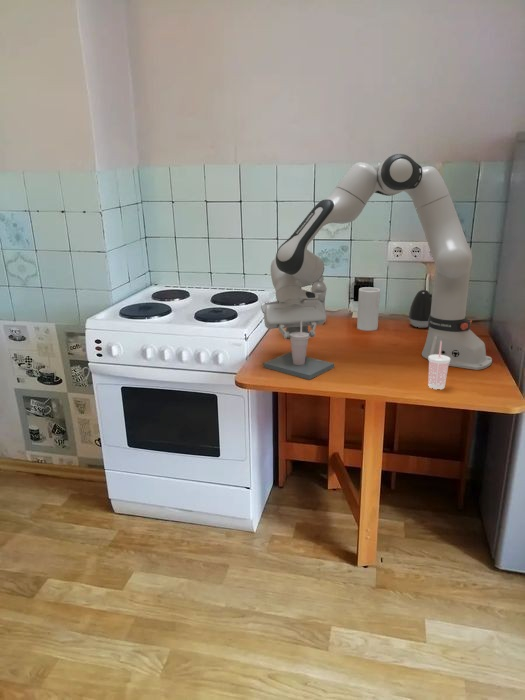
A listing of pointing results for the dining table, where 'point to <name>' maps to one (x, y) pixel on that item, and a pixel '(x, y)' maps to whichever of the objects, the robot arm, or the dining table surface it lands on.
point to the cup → (368, 308)
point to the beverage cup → (438, 370)
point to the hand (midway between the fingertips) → (300, 337)
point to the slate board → (299, 366)
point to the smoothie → (299, 346)
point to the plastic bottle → (320, 290)
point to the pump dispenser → (421, 309)
